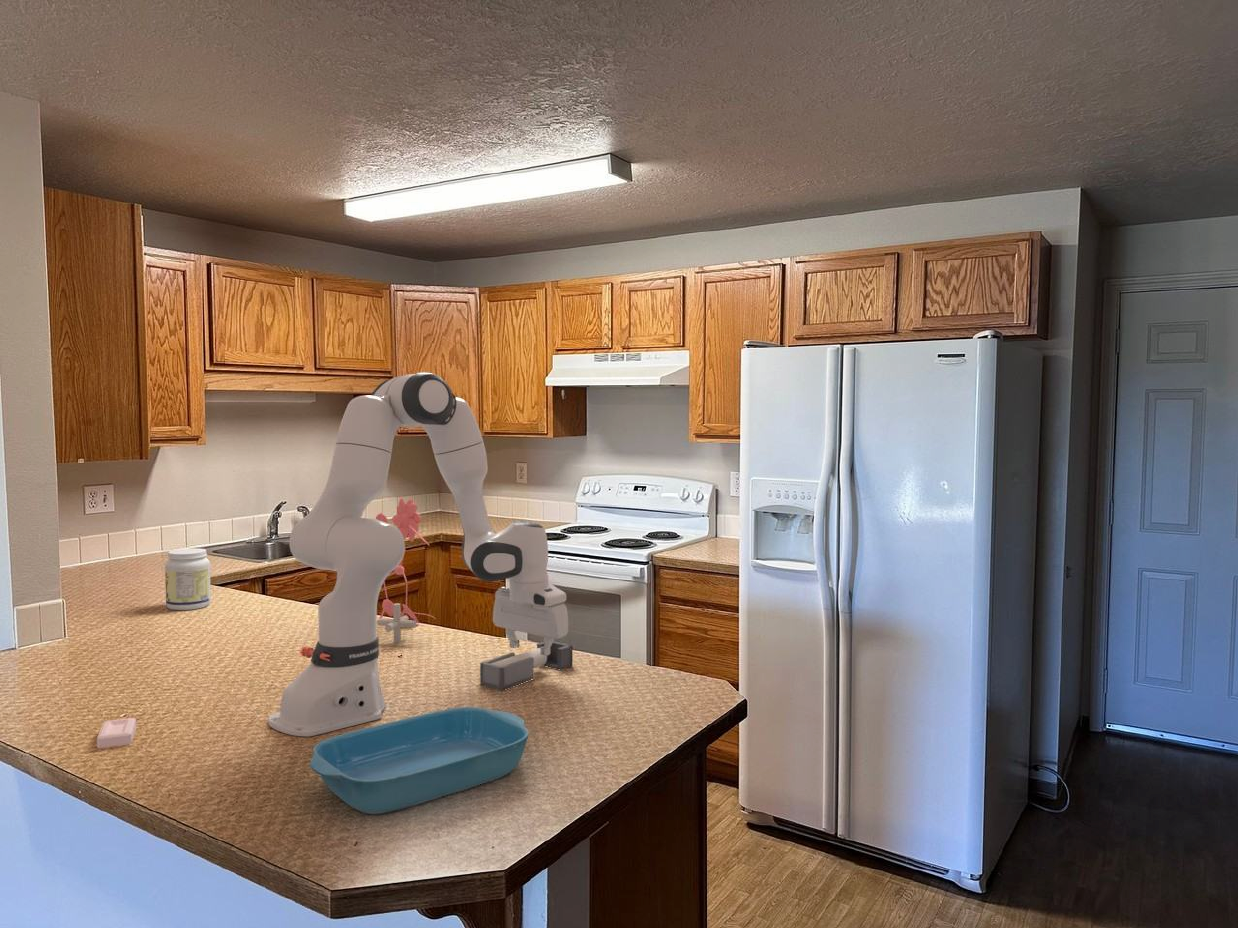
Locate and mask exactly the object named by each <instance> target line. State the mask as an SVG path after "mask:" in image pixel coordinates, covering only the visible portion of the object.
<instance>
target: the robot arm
mask: <svg viewBox="0 0 1238 928" xmlns="http://www.w3.org/2000/svg"><path fill="white" fill-rule="evenodd" d="M418 427H421V428H422V429H423V431H424V432H426V434H427V436H428V438H429V439H430V443H431V448H432V451H433V456H434V459H435V461H436V465H437V467H438V469H439V472H440V474H441V476H442V478H443V481H445V484H446V486H447V488H448V489H449V490H450V492H451V493H452V495H453V498H454V500H455V504H456V508H457V512H458V516H459V519H460V523H461V527H462V533H463V537H462V538H463V539H462V545H461V559H462V561H463V563H464V565H465V567H467V569H469V570H470V571H471V572H472V573H473V574H474V576H475V577H477V578H478V580H481V581H484V582H488V583H489V582H490V583H492V582H499V581H503V580H506V579H508V580H509V587H505V586H500V587H499V588H498V589H497V590H496V591H495V596H494V597H495V600H494V602H493V603H494V604H493V612H492V621H493V624H494V626H495V627H496V628H497V627H498V628H503V629H505V634H506V637H507V638H508V641H509V648H512V649H517V648H519V647H520V639H518V638H517V636H516V633H515V632H521V633H527V634H530V635H535V636H539V637H543V642H544V641H546V642H545V644H544V647H540V650H541V652H540V653H541V655H545V656H547V655H549V654H550V647H551V645H552V643H553V642H555V640H559V639H561V638H562V639H563V638H564V637H566V636H567V634H568V632H569V616H568V615H569V614H568V608H567V606H566V604H565V602H566V601H567V593H566V592H565V591H563V590H562V589H560V588H558V587H556V586H555V585H554V584H552V583H551V582H549V574H548V571H547V570H548V569H547V566H548V561H549V547H548V545H549V544H548V537H547V532H546V529H545V528H544V527H543V526H542V525H541V524H539V523H537V522H534V521H530V520H514V521H512V522H511V524H509V525H508V526H507V527H505V528H504V529H501V530H500V531H498V532H495V531H494V529H493V527H492V526H491V524H490V520H489V519H490V518H489V515H488V510H487V507H486V503H485V498H484V495H483V484H484V480H485V478H486V476H487V474H488V470H489V469H488V459H487V451H486V447H485V443H484V439H483V436H482V433H481V430H480V427H479V424H478V422H477V419H476V417H475V415H474V413H473V411H472V408H471V407H470V405H469V403H468V402H467V401H466V400H465V399H463V398H460V397H456V396H455V394H454V393H453V392H452V389H451V388H450V386H449V384H448V383H447V382H446V381H445V379H443V378H442V377H441V376H439V375H437V374H435V373H431V372H417V373H414V374H413V373H412V374H402V375H398V376H395V377H393V378H390V379H386V380H384V381H382V382H381V383H379V384H378V385H377V386H376V388H374V390H373V392H372V393H371V394H370V395H369V394H368V395H367V394H365V395H359V396H356V397H354V398H352V399H351V400H350V401H349V402H348V404H347V406H346V409H345V411H344V413H343V417H342V419H341V421H340V425H339V429H338V432H337V434H336V435H337V436H336V441H335V447H334V451H333V456H332V460H331V466H330V471H329V474H328V479H327V480H326V484H325V487H324V489H323V491H322V493H321V495H320V497H319V499H318V500H317V502H316V503H315V504H314V506H313V508H312V509H311V510H310V512H309V513H307V514H306V515H305V516H304V517H302V518H301V519H300V520H298V521H297V522H296V524H295V525H294V526H293V528H292V530H291V531H290V535H289V550H290V552H291V554H292V556H293V558H294V559H295V560H296V561H298V562H299V563H302V564H304V565H306V566H308V567H312V568H315V569H318V570H325V571H334V572H336V582H335V585H334V588H333V590H332V591H330V592H329V593H328V594H327V595H325V596H324V597H323V598H322V599H321V600H320V602H319V604H318V615H317V616H318V641H317V642H316V644H315V647H314V648H313V647H309V646H307V645H305V646H302V647H301V649H300V652H299V654H300V655H301V656H302V657H305V658H307V659H310V663H309V664H308V665H307V666H306V668H304V669H303V670H302V672H300V673H299V675H297V676H296V677H295V679H293V681H291V682H290V683H289V684H288V685H287V686H286V687H285V688H284V690H283V693H282V696H281V701H280V702H281V703H280V710H279V711H277V712H275V713H272V714H271V715H269V716H268V718H267V719H268V720H267V724H268V725H269V726H270V727H271V729H274V730H276V731H278V732H280V733H283V734H286V735H291V736H296V737H314V736H319V735H322V734H325V733H330V732H333V731H337V730H342V729H345V728H348V727H349V728H350V727H353V726H356V725H361V724H365V723H369V722H371V721H373V722H374V721H376V720H379V719H381V718H382V717H383V716H382V712H383V711H384V710H385V709H386V707H387V705H386V702H385V699H384V695H383V690H382V686H381V681H380V675H379V666H378V665H379V664H378V663H379V662H378V659H379V656H380V644H379V637H378V636H377V617H378V615H377V613H378V612H377V611H378V602H379V601H378V600H379V597H380V592H381V590H382V586H383V585H384V583H383V582H384V581H386V579H387V578H388V577H389V576H388V575H389V574H392V573H393V571H395V569H396V568H397V567H398V566H399V565H400V564H401V560H402V558H403V555H404V556H405V554H404V551H405V552H406V550H405V549H406V544H405V540H404V538H403V535H402V533H401V531H400V530H399V529H398V528H397V526H396V525H393V524H390V523H386V522H383V521H380V520H377V519H376V518H363V517H362V516H363V513H364V512H365V511H366V509H367V507H368V505H370V503H372V501H374V500H375V499H376V498H379V497H380V496H381V495H382V494H384V491H385V490H386V486H387V480H388V476H389V470H390V464H391V460H392V459H391V458H392V453H393V445H394V439H395V436H396V434H397V432H398V430H399V429H400V428H418ZM403 559H404V558H403ZM387 576H388V577H387Z"/></svg>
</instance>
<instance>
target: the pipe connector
mask: <svg viewBox="0 0 1238 928" xmlns="http://www.w3.org/2000/svg"><path fill="white" fill-rule="evenodd" d="M401 610H402V609H401V603H398V602H397V603H393V616H392V618H382V619H379V618H378V619H377V626H381V627H382V626H383V627H384V629H385V631H386V632H388V633H389V632H391V631H392V632H393V644H400V643H402V635H401V634H402V633H401V632H402V629H401V628H412V629H413V628H416V627H417V624H418V623H417V622H416V621H415V620H414V619H412V620H410V619H409V618H410V617H409V615H403V617H401V614H402V613H401V612H402V611H401Z"/></svg>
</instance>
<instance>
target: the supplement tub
mask: <svg viewBox="0 0 1238 928" xmlns="http://www.w3.org/2000/svg"><path fill="white" fill-rule="evenodd" d="M207 556H208V554H207V549H205V548H197V547H196V548H195V547H193V548H191V547H190V548H180V549H179V548H178V549H174V550H170V551H168V552H167V559H168V560H167V561H166V563H165V564H164V565H165V566H164V569H165V570H164V573H165V575H164V577H165V579H164V580H165V605H166V607H167V608H168V609H169V610H174V611H191V610H197V609H202V608H205V607H207V606H209V605H211V604H210V603H211V602H212V601H211V600H212V598H211V596H212V595H211V562H210V560H209V559H208V558H207Z"/></svg>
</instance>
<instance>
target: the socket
mask: <svg viewBox="0 0 1238 928" xmlns="http://www.w3.org/2000/svg"><path fill="white" fill-rule="evenodd" d="M545 642H546V641H544V640H543V641H542V642H539V643H536V649H537V648H540V647H544V644H545ZM573 650H574V649H573V645H571V644H567V643H562V642H558V641H554V642H553V643H552V645H551V647H550V654H549V655H547V661H546V663H545V664H544V666H543V667H545V666H548V667H547V668H549V667H551V668H550V669H553V668H556V669H555V670H557V669H560V670H559V671H561V670H562V671H564V670H566V669H565V668H567V669H569V668H568V667H570V668H572V667H573ZM571 666H572V667H571ZM563 669H564V670H563Z"/></svg>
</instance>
